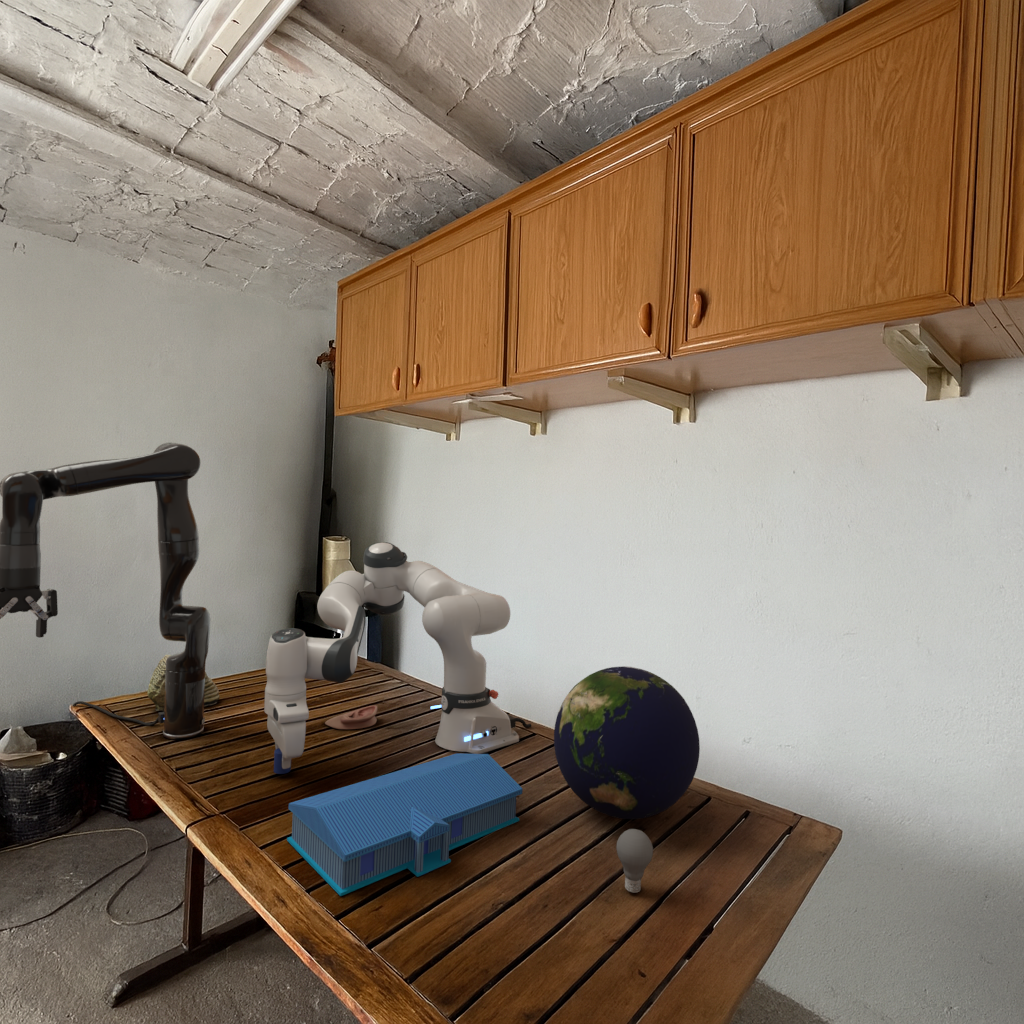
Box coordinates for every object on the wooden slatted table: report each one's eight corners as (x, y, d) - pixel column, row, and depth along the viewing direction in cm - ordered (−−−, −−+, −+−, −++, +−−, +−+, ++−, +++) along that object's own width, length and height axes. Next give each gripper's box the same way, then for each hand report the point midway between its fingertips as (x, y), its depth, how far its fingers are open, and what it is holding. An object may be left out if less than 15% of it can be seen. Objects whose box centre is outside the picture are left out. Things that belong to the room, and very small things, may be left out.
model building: (350, 906, 98) (352, 842, 98) (285, 839, 117) (287, 785, 116) (531, 827, 125) (533, 776, 125) (455, 782, 143) (457, 738, 143)
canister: (293, 767, 145) (294, 747, 145) (286, 774, 141) (287, 754, 141) (278, 766, 145) (279, 746, 145) (270, 773, 142) (271, 752, 141)
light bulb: (610, 879, 108) (613, 822, 108) (644, 879, 109) (647, 822, 109) (619, 902, 102) (622, 840, 102) (655, 901, 103) (658, 840, 103)
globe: (530, 827, 125) (537, 675, 124) (573, 769, 152) (579, 645, 152) (686, 866, 113) (694, 700, 113) (702, 796, 141) (709, 663, 141)
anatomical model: (320, 712, 173) (339, 699, 184) (319, 726, 173) (339, 713, 184) (365, 717, 170) (382, 704, 181) (364, 732, 170) (381, 718, 181)
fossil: (144, 707, 182) (145, 655, 182) (212, 696, 194) (213, 647, 194) (151, 716, 175) (153, 662, 175) (221, 703, 188) (223, 653, 188)
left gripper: (-16, 568, 128) (-18, 648, 129) (64, 564, 140) (62, 637, 140) (-30, 565, 132) (-32, 642, 133) (49, 561, 144) (47, 632, 145)
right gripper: (261, 691, 150) (259, 749, 150) (280, 718, 133) (278, 784, 133) (289, 687, 153) (287, 744, 154) (311, 714, 136) (308, 778, 136)
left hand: (16, 639), depth 137 cm, fingers open, 8 cm apart
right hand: (283, 763), depth 143 cm, fingers closed on canister, 4 cm apart
